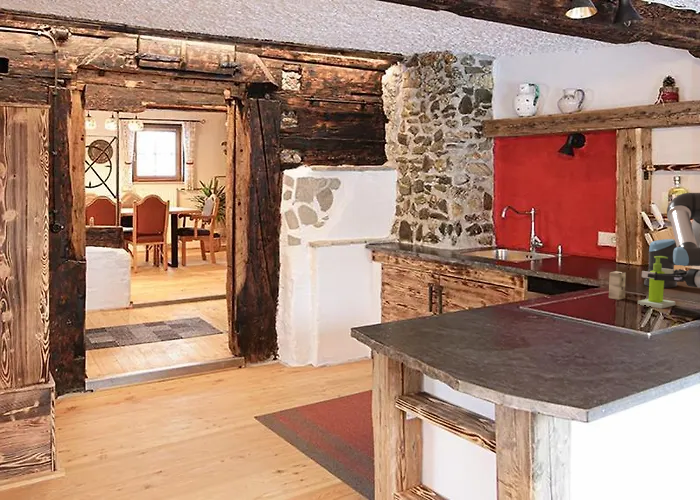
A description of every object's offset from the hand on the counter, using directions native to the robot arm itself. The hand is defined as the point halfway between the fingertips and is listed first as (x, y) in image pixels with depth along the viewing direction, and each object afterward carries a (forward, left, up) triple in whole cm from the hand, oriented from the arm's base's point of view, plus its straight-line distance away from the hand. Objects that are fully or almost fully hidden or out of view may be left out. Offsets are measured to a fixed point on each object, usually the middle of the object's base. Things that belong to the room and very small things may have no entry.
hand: (650, 272), depth 294 cm
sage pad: (0, +3, -14) cm, 14 cm away
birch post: (0, -16, -14) cm, 22 cm away
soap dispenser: (0, +3, -13) cm, 13 cm away
